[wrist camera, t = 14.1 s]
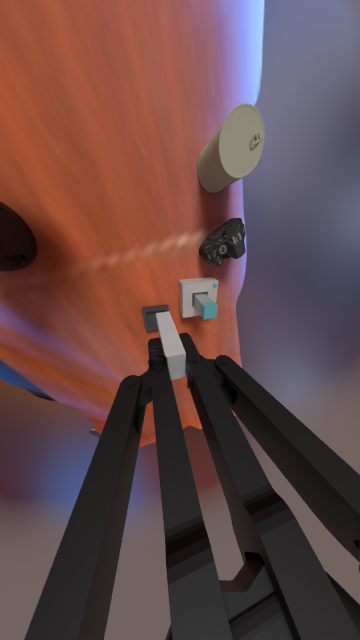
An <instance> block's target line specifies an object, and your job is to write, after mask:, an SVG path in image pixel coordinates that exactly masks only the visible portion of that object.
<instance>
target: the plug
mask: <svg viewBox="0 0 360 640" xmlns="http://www.w3.org/2000/svg"><path fill="white" fill-rule="evenodd" d="M192 304H193V306H194V307H195V308H196V310H197V311H198V313H199V314H200V315H201V317H202V318H203V319H211V318H216V317H217V309H218V305H217V304H216V303H215V302H214V301H213V300H212V299H210V298H209V297H208V296H207V295H206V294H205V293H204V292H200V293H192Z"/></svg>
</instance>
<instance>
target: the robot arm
mask: <svg viewBox="0 0 360 640" xmlns="http://www.w3.org/2000/svg"><path fill="white" fill-rule="evenodd" d="M36 253H37V245H36V241H35V238H34V236H33V234H32V232H31V230H30V228H29V227H28V225H27V224H26V223H25V222H24V220H23V219H22V218H21V217H20V216H19V215H18V214H17V213H16V212H15V211H13V210H12V209H11V208H10V207H8V206H7V205H5V204H4V203H2V202H0V271H13V270H18V269H21V268H25V267H27V266H29V265H30V264H31V263H32V262H33V261H34V259H35V257H36ZM156 319H157V327H158V334H159V338H154V339H150V340H149V342H148V350H149V360H148V364H149V369H148V370H147V371H146V372H145V373H144V374H142V375H140V376H136V375H131V376H128V377H126V378H125V379H123V380H122V382H121V384H120V386H119V389H118V391H117V394H116V397H115V399H114V402H113V405H112V407H111V410H110V413H109V415H108V418H107V421H106V423H105V426H104V429H103V431H102V434H101V437H100V439H99V442H98V445H97V447H96V450H95V453H94V455H93V458H92V461H91V464H90V466H89V469H88V472H87V474H86V477H85V479H84V482H83V485H82V488H81V490H80V493H79V495H78V498H77V501H76V503H75V506H74V509H73V511H72V514H71V517H70V519H69V522H68V525H67V528H66V530H65V533H64V535H63V538H62V541H61V543H60V546H59V549H58V551H57V554H56V557H55V559H54V562H53V565H52V567H51V570H50V572H49V575H48V578H47V581H46V583H45V586H44V588H43V591H42V594H41V597H40V599H39V602H38V605H37V607H36V610H35V612H34V615H33V618H32V620H31V623H30V626H29V628H28V631H27V634H26V636H25V639H24V640H104V634H105V630H106V625H107V620H108V614H109V609H110V603H111V598H112V592H113V587H114V581H115V576H116V569H117V565H118V559H119V553H120V547H121V542H122V537H123V531H124V526H125V520H126V515H127V509H128V503H129V498H130V492H131V487H132V481H133V476H134V470H135V465H136V459H137V454H138V448H139V443H140V437H141V432H142V426H143V421H144V415H145V410H146V404H148V403H149V402H151V401H153V411H154V422H155V433H156V444H157V454H158V466H159V476H160V488H161V498H162V509H163V520H164V531H165V545H166V568H167V580H168V592H169V603H170V615H171V625H170V628H169V631H168V633H167V637H166V639H165V640H360V605H359V604H358V603H357V602H356V601H355V600H354V599H353V598H352V597H351V596H350V595H349V594H348V593H347V592H346V591H345V590H344V589H343V588H342V587H341V586H340V585H339V584H338V583H337V582H336V581H335V580H334V579H333V578H332V577H331V576H330V575H329V574H328V573H327V572H326V571H324V569H323V567H322V565H321V563H320V562H319V560H318V558H317V556H316V554H315V552H314V551H313V549H312V547H311V545H310V544H309V542H308V540H307V538H306V536H305V534H304V533H303V531H302V529H301V527H300V525H299V523H298V522H297V520H296V518H295V516H294V515H293V513H292V511H291V510H290V508H289V507H288V505H287V504H286V503H285V501H284V500H283V499H282V498H281V497H280V496H279V495H278V494H277V493H276V492H275V491H274V489H273V488H272V486H271V484H270V483H269V481H268V479H267V477H266V475H265V473H264V471H263V469H262V467H261V465H260V464H259V462H258V460H257V458H256V456H255V454H254V452H253V450H252V448H251V446H250V444H249V443H248V441H247V439H246V437H245V435H244V433H243V431H242V429H241V427H240V425H239V424H238V422H237V420H236V418H235V416H234V414H233V412H234V413H235V414H236V415H237V416H238V418H239V419H240V420H241V422H242V423H243V424H244V425H245V427H246V428H247V429H248V431H249V432H250V433H251V434H252V436H253V437H254V438H255V439H256V441H257V442H258V443H259V444H260V446H261V447H262V448H263V450H264V451H265V452H266V453H267V455H268V456H269V457H270V458H271V460H272V461H273V462H274V463H275V464H276V466H277V467H278V469H279V470H280V471H281V472H282V474H283V475H284V476H285V477H286V479H288V481H289V482H290V484H291V485H292V486H293V487H294V489H295V490H296V491H297V493H298V494H299V495H300V496H301V497H302V499H303V500H304V501H305V503H306V504H307V505H308V506H309V508H310V509H311V510H312V512H313V513H314V514H315V515H316V516H317V518H318V519H319V520H320V521H321V522H322V524H323V525H324V526H325V527H326V528H327V529H328V531H329V532H330V533H331V534H332V535H333V536H334V537H335V538H336V539H337V540H338V541H339V542H340V543H341V544H342V545H343V547H344V548H345V549H346V550H347V551H349V552H350V553H351V554H352V555H353V556H354V557H355V558H356V559H357V560H358V561H359V562H360V475H359V474H358V473H357V472H356V471H355V470H353V469H352V468H351V467H350V466H349V465H348V464H347V463H346V462H345V461H344V460H343V459H342V458H340V457H339V456H338V455H337V454H336V453H335V452H334V451H333V450H332V449H330V448H329V447H328V446H327V445H326V444H325V443H324V442H323V441H321V440H320V439H319V438H318V437H317V436H316V435H315V434H314V433H313V432H312V431H311V430H309V429H308V428H307V427H306V426H305V425H304V424H303V423H302V422H301V421H300V420H298V419H297V418H296V417H295V416H294V415H293V414H292V413H291V412H290V411H288V410H287V409H286V408H285V407H284V406H283V405H282V404H281V403H280V402H279V401H277V400H276V399H275V398H274V397H273V396H272V395H271V394H270V393H269V392H267V391H266V390H265V389H264V388H263V387H262V386H261V385H260V384H259V383H257V382H256V381H255V380H254V379H253V378H252V377H251V376H250V375H249V374H248V373H247V372H245V371H244V370H243V369H242V368H241V367H240V366H239V365H238V364H237V363H236V362H234V361H233V360H232V359H231V358H230V357H228V356H225V355H220V356H218V357H216V360H214V359H206V358H204V357H203V356H202V355H200V354H199V352H198V350H197V348H196V346H195V344H194V343H193V340H192V338H191V336H190V335H189V334H188V333H181V334H178V332H177V330H176V327H175V325H174V322H173V320H172V317H171V315H170V312H169V311H168V312H161V313H156ZM186 375H187V387H188V388H190V391H191V395H192V398H193V401H194V404H195V407H196V410H197V413H198V416H199V419H200V422H201V425H202V428H203V431H204V434H205V437H206V440H207V443H208V446H209V449H210V452H211V455H212V459H213V461H214V465H215V468H216V471H217V474H218V477H219V480H220V483H221V486H222V489H223V492H224V495H225V498H226V501H227V504H228V507H229V511H230V515H231V520H232V526H233V529H234V533H235V536H236V539H237V543H238V546H239V549H240V552H241V555H242V558H243V561H244V565H243V567H242V568H241V570H240V571H239V572H238V574H237V575H236V577H235V578H234V579H233V580H231V581H221V580H219V579H218V575H217V570H216V566H215V562H214V558H213V553H212V550H211V545H210V542H209V538H208V535H207V531H206V528H205V525H204V521H203V517H202V513H201V508H200V504H199V499H198V495H197V491H196V486H195V482H194V478H193V473H192V469H191V465H190V460H189V456H188V451H187V447H186V443H185V439H184V434H183V430H182V425H181V421H180V417H179V412H178V408H177V403H176V399H175V395H174V390H173V386H172V382H171V380H175V379H179V378H183V377H186ZM231 409H232V410H233V412H232V410H231ZM359 571H360V565H359Z"/></svg>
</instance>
